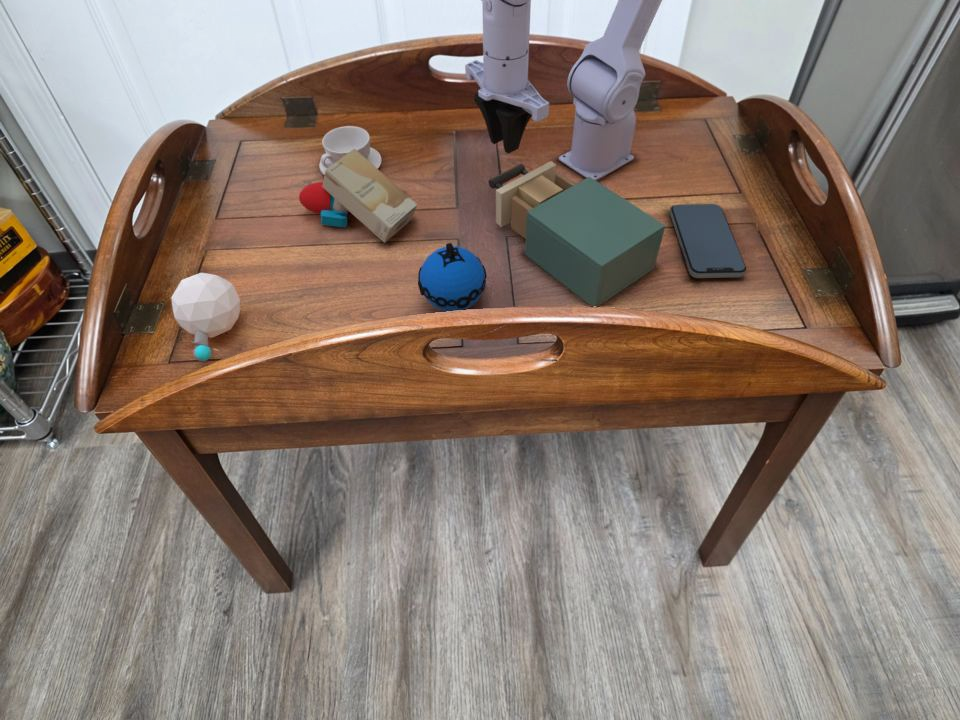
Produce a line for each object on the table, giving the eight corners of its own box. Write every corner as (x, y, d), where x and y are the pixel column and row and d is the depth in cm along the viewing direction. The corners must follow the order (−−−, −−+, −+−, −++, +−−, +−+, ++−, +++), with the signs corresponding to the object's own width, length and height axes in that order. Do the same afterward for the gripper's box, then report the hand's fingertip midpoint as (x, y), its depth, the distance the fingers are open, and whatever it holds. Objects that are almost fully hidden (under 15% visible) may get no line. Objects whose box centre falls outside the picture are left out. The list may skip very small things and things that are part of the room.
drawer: (477, 208, 96) (476, 175, 91) (529, 180, 100) (530, 147, 95) (555, 268, 88) (558, 235, 83) (608, 235, 92) (614, 202, 87)
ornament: (496, 315, 84) (496, 258, 76) (433, 334, 82) (426, 277, 74) (473, 272, 89) (471, 214, 81) (413, 289, 87) (405, 231, 79)
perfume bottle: (254, 276, 84) (254, 354, 78) (214, 306, 87) (211, 382, 81) (199, 249, 78) (195, 330, 72) (160, 282, 82) (152, 362, 75)
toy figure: (400, 198, 102) (301, 193, 99) (402, 173, 98) (299, 167, 95) (401, 233, 97) (298, 228, 95) (403, 208, 93) (296, 203, 91)
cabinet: (524, 254, 91) (526, 211, 85) (583, 219, 95) (589, 176, 89) (594, 309, 84) (601, 266, 78) (654, 268, 89) (665, 225, 83)
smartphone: (720, 202, 95) (749, 270, 85) (717, 211, 96) (745, 280, 87) (669, 203, 95) (692, 272, 85) (666, 212, 96) (689, 281, 87)
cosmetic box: (391, 229, 89) (323, 170, 89) (385, 244, 93) (319, 188, 92) (419, 202, 92) (354, 145, 92) (412, 219, 96) (349, 164, 96)
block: (539, 200, 95) (541, 174, 92) (560, 214, 93) (563, 189, 90) (517, 212, 93) (518, 187, 90) (538, 227, 91) (539, 202, 88)
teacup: (355, 139, 109) (350, 114, 106) (394, 163, 105) (390, 137, 101) (307, 166, 105) (300, 140, 101) (345, 191, 100) (340, 166, 97)
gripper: (445, 38, 83) (451, 133, 93) (520, 82, 75) (517, 180, 86) (487, 21, 85) (488, 116, 96) (564, 62, 78) (556, 159, 89)
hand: (504, 145), depth 91 cm, fingers closed
